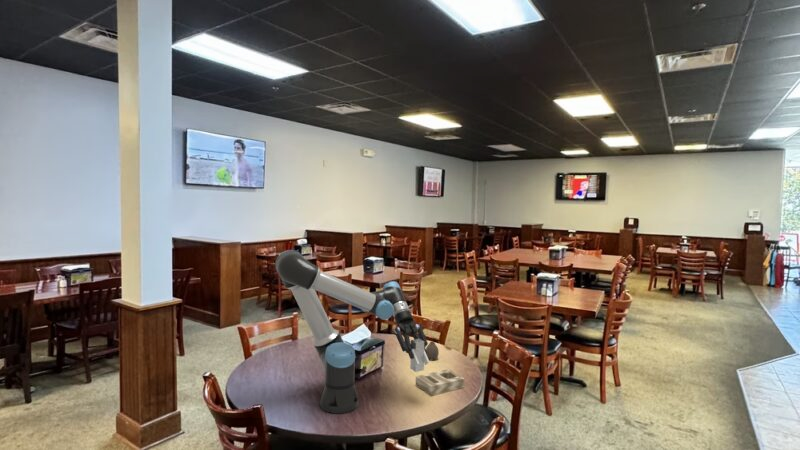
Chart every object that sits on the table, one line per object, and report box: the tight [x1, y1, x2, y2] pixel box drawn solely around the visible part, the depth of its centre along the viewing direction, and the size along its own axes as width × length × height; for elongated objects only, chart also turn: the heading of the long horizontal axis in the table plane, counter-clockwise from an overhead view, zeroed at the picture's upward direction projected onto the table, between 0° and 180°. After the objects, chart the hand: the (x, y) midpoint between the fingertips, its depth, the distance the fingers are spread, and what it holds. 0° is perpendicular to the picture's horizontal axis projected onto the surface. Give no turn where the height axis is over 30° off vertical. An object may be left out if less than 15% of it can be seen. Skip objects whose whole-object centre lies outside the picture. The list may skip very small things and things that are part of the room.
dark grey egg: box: [425, 341, 440, 361], centre depth 223 cm, size 7×7×9 cm
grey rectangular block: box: [410, 338, 425, 373], centre depth 175 cm, size 4×4×12 cm
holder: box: [415, 368, 465, 397], centre depth 190 cm, size 18×12×4 cm, turn 121°
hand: (422, 364), depth 172 cm, fingers closed on grey rectangular block, 4 cm apart
